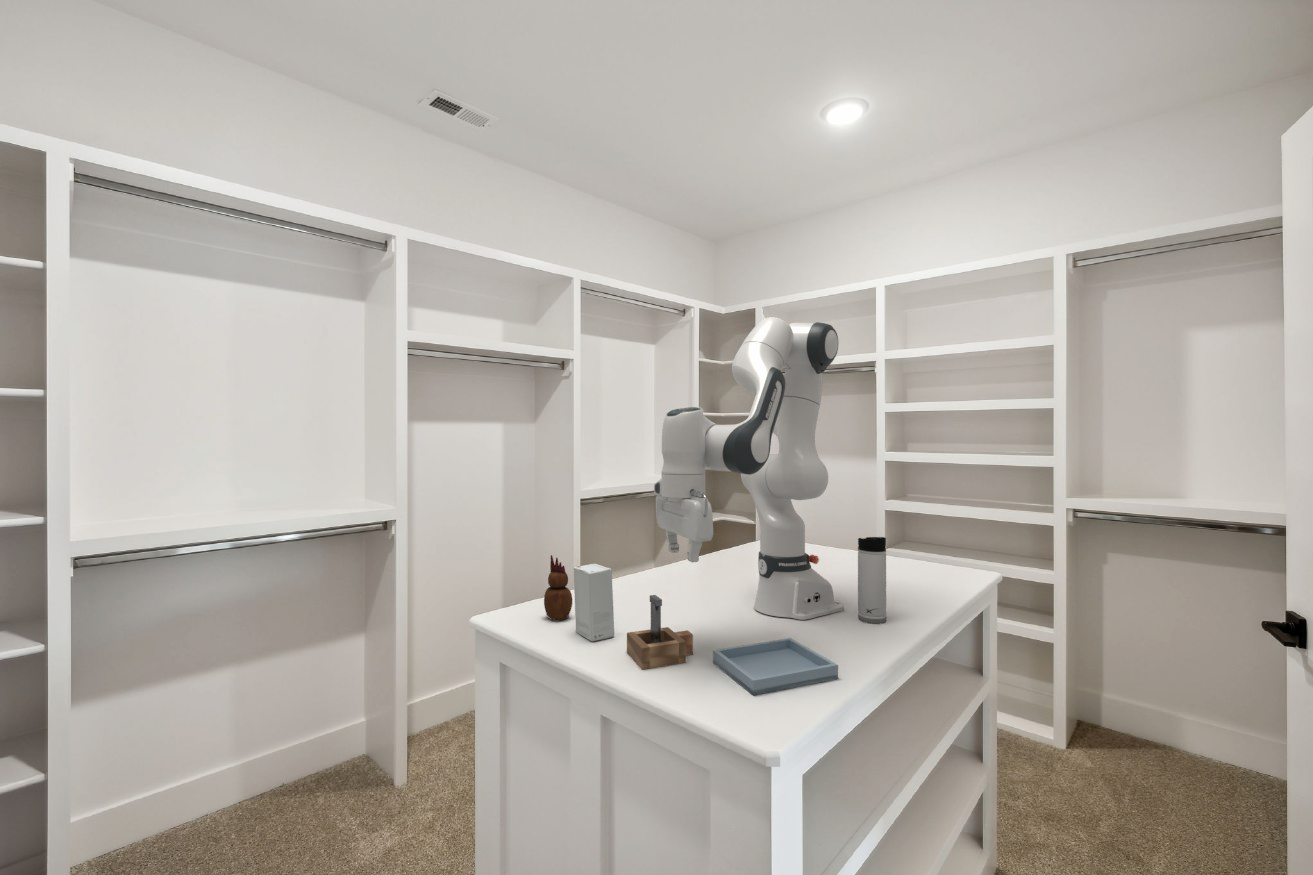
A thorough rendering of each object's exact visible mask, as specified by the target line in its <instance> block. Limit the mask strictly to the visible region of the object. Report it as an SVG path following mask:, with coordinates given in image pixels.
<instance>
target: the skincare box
mask: <svg viewBox="0 0 1313 875" xmlns="http://www.w3.org/2000/svg"><path fill="white" fill-rule="evenodd" d="M612 571H613V569H612V568H610V567H606V566H604V565H601V564H598V563H589V564H584V565H579V566H574V567H573V585H574V586H573V591H574V611H575V612H574V618H575V621H574V622H575V633H577V634H579V635H580V636H582V637H584V638H585V639H587V640H588V641H590V642H596V641H600V640H607V639H611V638H614V637H615V617H614V613H615V612H614V594H613V592H614V590H613V572H612Z"/></svg>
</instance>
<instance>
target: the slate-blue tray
mask: <svg viewBox="0 0 1313 875" xmlns="http://www.w3.org/2000/svg"><path fill="white" fill-rule="evenodd" d="M712 663H713V664H714V665H715V666H716V667H717V668H718V669H720V670H721V671H722V672H723V673H725V674H726V675H727V676H729V677H730V678H731V679H732V680H733V681H735V682H736V683H737V684H738V685H740V686H741V687H742V688H743V689H744V690H745V691H747V692H748V693H749V694H751V695H752V696H757V695H762V694H767V693H772V692H778V691H784V690H788V689H793V688H799V687H803V686H809V685H814V684H818V683H824V682H829V681H835V680H838V679H839V664H837V663H836V662H834V661H832V660H830V659H828V658H827V657H825V656H823V655H822V654H819V652H816V651H814V650H812V649H810V648H809V647H807V646H805V645H804V644H802V643H800V642H799V641H796V640H795V639H793V638H791V637H788V638H783V639H775V640H769V641H763V642H761V641H760V642H756V643H751V644H750V643H749V644H745V645H738V646H737V645H736V646H731V647H725V648H723V647H722V648H719V649H713V650H712Z"/></svg>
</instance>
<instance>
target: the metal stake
mask: <svg viewBox="0 0 1313 875" xmlns="http://www.w3.org/2000/svg"><path fill="white" fill-rule="evenodd" d="M649 602H650V629H651V644H653V643H660V642H661V628H662V619H661V618H662V614H661V613H662V612H661V611H662V610H661V609H662V606H663V599H662V598H660V597H659V596H657V595H656V594H651V595H649Z"/></svg>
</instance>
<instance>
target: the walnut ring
mask: <svg viewBox="0 0 1313 875" xmlns="http://www.w3.org/2000/svg"><path fill="white" fill-rule="evenodd" d="M626 653H627V655H628V656H629V657H630V658H631V659H632V660H633V662H635V663H636V665H637V666H638V667H639V668H640V669H641V670H649V669H655V668H660V667H665V666H666V667H667V666H672V665H673V666H674V665H678V664H685V663H687V656H690V655H694V654H693V653H694V634H693V633H692V632H691V631H689V630H688V629H687V630H680V631H673V630H672V629H671V628H670V627H667V626H666V627H661V642H660V643H653V644H651V628H650V629H643V630H637V631H636V630H635V631H629V632H626Z"/></svg>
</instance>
